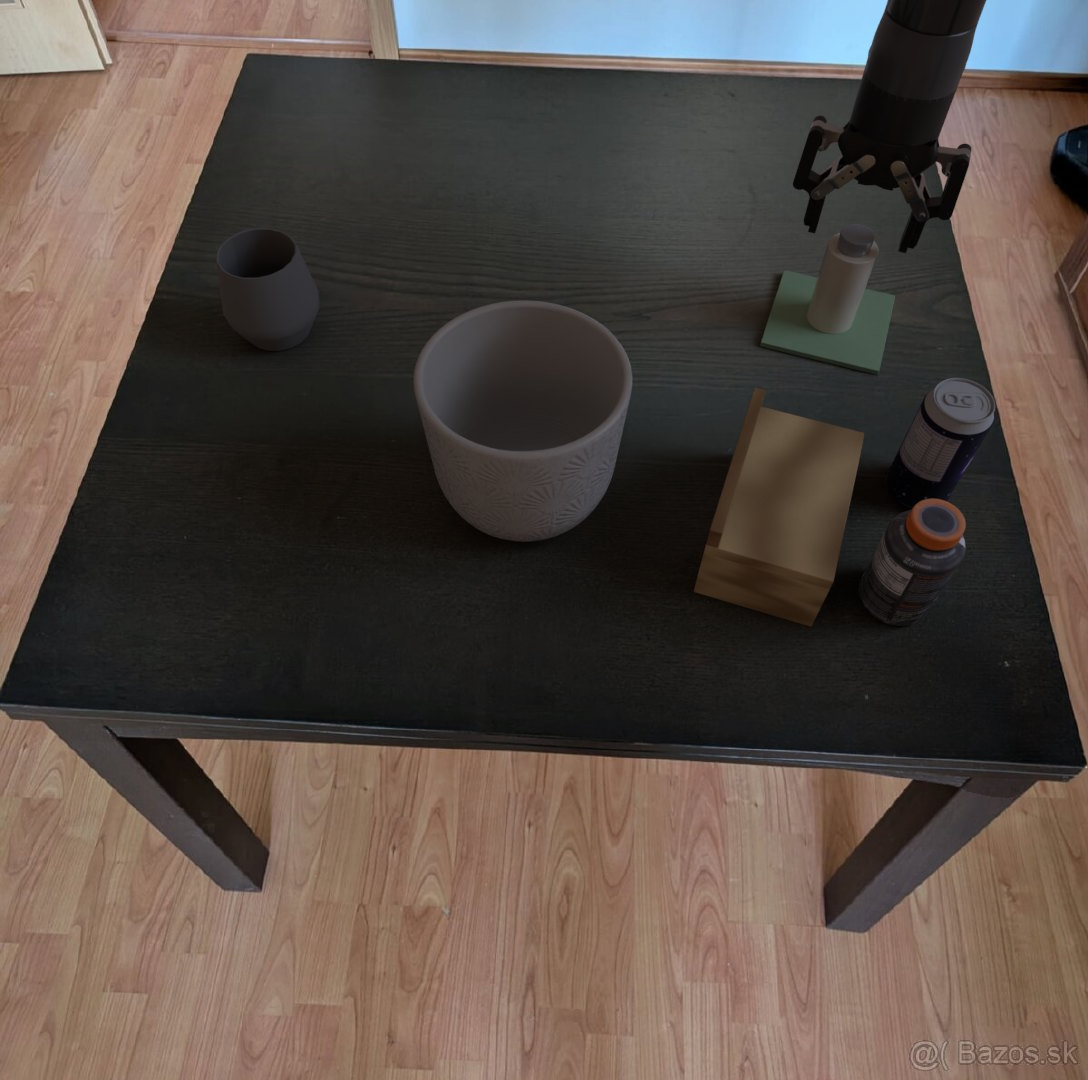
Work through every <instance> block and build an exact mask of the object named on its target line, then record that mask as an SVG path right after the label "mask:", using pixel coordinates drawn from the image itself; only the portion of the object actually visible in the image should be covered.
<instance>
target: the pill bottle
mask: <svg viewBox="0 0 1088 1080" xmlns="http://www.w3.org/2000/svg"><path fill="white" fill-rule="evenodd" d="M966 527H967V523H966V519H965V516H964V514H963V513H962V512H961V510H960V509H959V508H958V507H957V506H955V505H954V504H953V503H950V502H949V501H948V500H947V501H944V500H940V499H925V500H922V501H920V502H918V503H917V504H916V505H915V506H914V507H913V508H911V509H908V510H905V511H902V512H900V513H899V514H897V515H896V516H895V517H893V519H892V520H891V521H890V522H889V524H888V525H887V527H886V529H885V531H884V533H883V535H882V536H881V539H880V541H879V543H878V544H877V547H876V549H875V550H874V552H873V554H872V556H871V558H870V560H869V562H868V564H867V566H866V568H865V570H864V572H863V574H862V575H861V577H860V580H859V583H858V597H859V600H860V602H861V604H862V606H863V607H864V609H865V610H866V611H867V612H868V613H869V614H870V616H872V617H874V618H875V619H876V620H878V621H880V622H883V623H885V624H887V625H890V626H896V627H906V626H911V625H916V624H917V623H919V622H920V621H921V620H923V619H924V618H925V617H927V615H928V614H929V613H930V611H931V609H932V608H933V606H934V604H935V603H936V601H937V600H938V598H939V596H940V595H941V594H942V592H943V591H944V589H945V587H946V586H947V584H948V583H949V581H950V580H951V578H952V577H953V575H954V574H955V572H956V571H957V569H959V566H960V565H961V563H962V562H963V560H964V558H965V554H966V539H965V537H964V533H965V531H966Z"/></svg>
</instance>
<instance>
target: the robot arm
mask: <svg viewBox="0 0 1088 1080" xmlns="http://www.w3.org/2000/svg"><path fill="white" fill-rule="evenodd" d="M986 2H987V0H887V2H886V5H885V8H884V11H883V14H882V15H881V18H880V19H879V23H878V24H877V27H876V30H875V32H874V35H873V38H872V41H871V45H870V47H869V49H868V54H867V59H866V62H865V65H864V69H863V73H862V76H861V80H860V83H859V87H858V89H857V94H856V97H855V101H854V103H853V108H852V111H851V114H850V118H849V120H848V122H847V123H846V124H845V125H844V126H843V127H842V126H838V125H835V124H830V123H828V120H827V118H826V117H825V116H824V115H816V116H814V118H813V120H812V123H811V126H810V128H809V131H808V134H807V138H806V141H805V144H804V147H803V150H802V152H801V156H800V159H799V162H798V165H797V168H796V172H795V174H794V178H793V181H792V186H793V188H794V190H795V189H796V190H798V191H802V190H803V191H805V192H806V193H807V194H808V196H809V198H808V203H807V206H806V210H805V213H804V217H803V225H804V226H806V227H808V230H807V232H808V233H810V234H816V232H817V229H818V225H819V222H820V219H821V216H822V212H823V208H824V204H825V202H826V198H827V196H828V195H829V194H830V193H831V192H833V191H835V190H838V189H841V188H843V187H844V186H845V185H847V184H848V183H850V181H851V182H852V180H855V181H857V185H861V186H876V187H879V188H881V189H883V190H887V191H891V192H893V191H894V189H898V188H899V189H900V192H901V194H902V196H903V198H904V201H905V202H906V204H908V205H909V207H910V209H911V211H910V214H909V217H908V219H907V222H906V224H905V226H904V230H903V232H902V235H901V238H900V242H899V245H898V251H897V252H899V253H901V254H906V253H907V251H908V249H912V250H914V248H916V247H917V245H918V243H919V240H920V238H921V235H922V233H923V231H924V228H925V225H926V223H927V222H928V221H929V220H930V219H935V218H936V219H937V218H938V219H939V220H940V221H947V220H950V219H951V218H952V216H953V215H954V211H955V208H956V205H957V202H958V200H959V197H960V193H961V191H962V188H963V185H964V181H965V179H966V176H967V173H968V169H969V167H970V160H971V157H972V146H971V145H970V144H968V143H961V144H959V145H958V146H957V148H956V147H948V146H941V145H940V142H939V138H940V134H941V132H942V131H943V127H944V125H945V121H946V119H947V116H948V114H949V111H950V109H951V105H952V103H953V100H954V98H955V96H956V92H957V90H958V88H959V84H960V81H961V79H962V77H963V73H964V71H965V70H966V67H967V63H968V61H969V57H970V54H971V52H972V48H973V45H974V44H973V43H974V39H975V34H976V32H977V31H976V30H977V27H978V25H979V21H980V18H981V15H982V13H983V11H984V8H985V5H986ZM834 143H837V147H838V149H839V152H840V153H841V155H840V156H838V157H837V158H836V159H834V160H833V162H832V164H831V165H829V166H827V168H825V169H824V170H822V171H821V172H819V173H818V172H816V171H814V170H812V169H813V165H814V163H815V160H816V157H817V154H818V152H819V153H821V152H824V151H826V150H827V149H829V147H830V146H831V144H834ZM935 163H939V164H940V166H941V170H940V171H941V173H942V175H944V176H945V177H946V180H945V183H944V187H943V189H942V192H941V196H932V195H931V193H930V192H931V191H930V190H929V187H928V185H927V181H926V177H925V174H924V172H925V171H927V170H928V169H929V168H931V167H932V166H934V165H935Z"/></svg>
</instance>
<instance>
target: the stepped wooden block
mask: <svg viewBox="0 0 1088 1080" xmlns="http://www.w3.org/2000/svg"><path fill="white" fill-rule="evenodd" d="M766 391H767V390H765V389H762V388H758V387H754V388H753V391H752V395H751V398H750V401H749V403H748V407H747V409H746V410H747V411H746V413H745V415H744V416H745V417H744V420H743V423H742V426H741V430H740V432H739V436H738V439H737V442H736V446H735V449H734V452H733V454H732V459H731V461H730V465H729V468H728V470H727V474H726V478H725V480H724V484H723V486H722V490H721V493H720V496H719V499H718V503H717V505H716V509H715V512H714V516H713V518H712V521H711V525H710V528H709V531H708V535H707V539H706V543H705V546H704V550H703V554H702V557H701V562H700V566H699V569H698V574H697V577H696V580H695V585H694V589H693V592H694V593H697V594H700V595H703V596H706V597H710V598H713V599H716V600H720V601H724V602H726V603H729V604H733V605H737V606H739V607H743V608H746V609H750V610H753V611H756V612H760V613H762V614H763V613H764V614H767V615H770V616H773V617H777V618H780V619H784V620H785V621H786V620H787V621H789V622H793V623H796V624H800V625H803V626H807V627H810V628H812V626H813V624H814V622H815V621H816V618H817V617H818V615H819V612H820V611H821V608H822V606H823V604H824V602H825V600H826V598H827V596H828V594H829V592H830V589H831V588H832V586H833V584H834V581H835V578H836V577H835V576H836V572H837V567H838V562H839V558H840V554H841V548H842V543H843V539H844V534H845V530H846V524H847V520H848V516H849V512H850V511H849V510H850V506H851V501H852V496H853V491H854V487H855V483H856V477H857V473H858V467H859V463H860V458H861V453H862V451H863V445H864V439H865V435H866V433H865V432H861V431H857V430H854V429H850V428H847V427H843V426H839V425H835V424H831V423H827V422H822V421H819V420H815V419H811V418H807V417H803V416H800V415H796V414H793V413H788V412H784V411H780V410H776V409H772V408H769V407H764V406H763V403H764V399H765V395H766V393H767V392H766Z"/></svg>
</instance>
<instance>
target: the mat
mask: <svg viewBox="0 0 1088 1080" xmlns="http://www.w3.org/2000/svg"><path fill="white" fill-rule="evenodd" d="M817 278H818V276H814V275H813V276H812V275H808V274H804V273H799V272H795V271H790V270H783V272H782V275H781V278H780V282H779V284H778V287H777V291H776V294H775V297H774V299H773V303H772V306H771V310H770V312H769V315H768V319H767V322H766V325H765V328H764V331H763V335H762V337H761V340H760V344H759V346H760V347H761V348H766V349H769V350H773V351H777V352H781V353H786V354H791V355H794V356H798V357H802V358H806V359H811V360H815V361H818V362H822V363H827V364H831V365H834V366H839V367H841V368H842V367H843V368H847V369H851V370H855V371H859V372H863V373H866V374H871V375H876V376H879V373H880V371H881V366H882V362H883V356H884V352H885V347H886V342H887V338H888V333H889V329H890V323H891V318H892V314H893V309H894V304H895V299H896V295H895V294H890V293H886V292H883V291H878V290H873V289H869V288H866V289H865V291H864V294H863V297H862V300H861V302H860V305H859V308H858V311H857V313H856V316H855V319H854V321H853V324H852V326H851V328H850V329H848V330H847V331H845V332H843V333H839V334H828V333H824V332H821V331H818V330H817V329H815V328H814V327H812V326H811V325H810V323H809V322H808V320H807V316H806V314H807V310H808V307H809V304H810V300H811V297H812V294H813V291H814V287H815V284H816V281H817Z"/></svg>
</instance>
